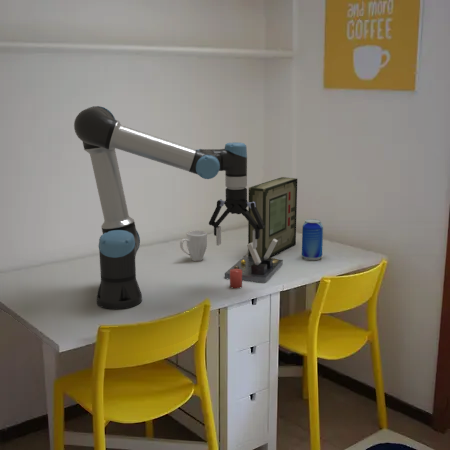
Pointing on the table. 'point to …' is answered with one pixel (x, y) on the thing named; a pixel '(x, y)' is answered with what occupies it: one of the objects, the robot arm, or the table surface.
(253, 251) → the breaker
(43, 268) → the table surface
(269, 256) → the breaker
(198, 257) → the mug
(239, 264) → the panel
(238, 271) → the red rounded cylinder
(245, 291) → the table surface
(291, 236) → the control panel
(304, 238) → the beer can
